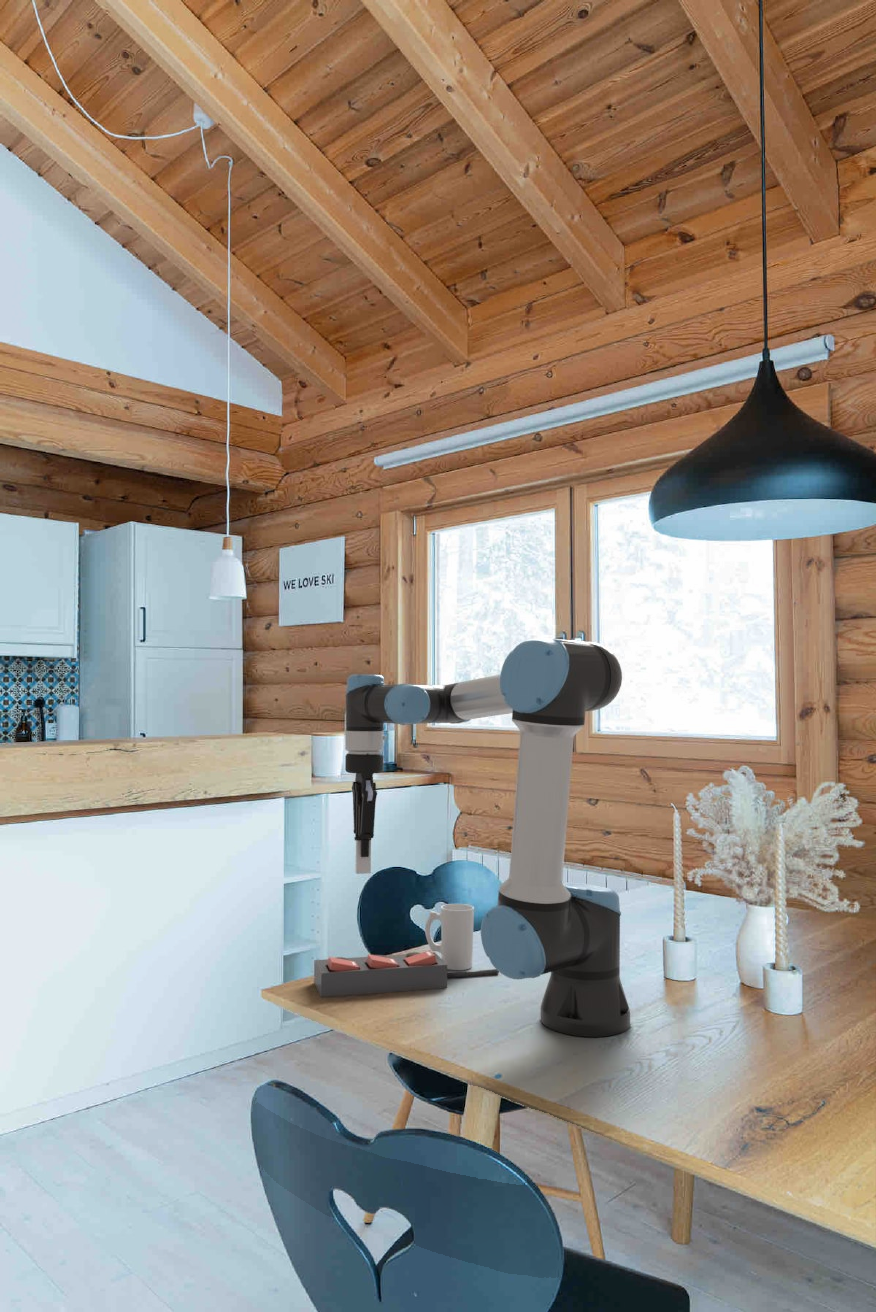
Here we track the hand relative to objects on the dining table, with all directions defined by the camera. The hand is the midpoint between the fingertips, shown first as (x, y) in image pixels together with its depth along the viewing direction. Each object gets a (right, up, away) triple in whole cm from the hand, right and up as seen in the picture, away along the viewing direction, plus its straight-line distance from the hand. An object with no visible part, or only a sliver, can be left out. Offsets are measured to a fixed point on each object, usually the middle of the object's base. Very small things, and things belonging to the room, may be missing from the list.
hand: (363, 872), depth 187 cm
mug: (+17, -21, +8) cm, 28 cm away
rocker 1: (-3, -15, -9) cm, 18 cm away
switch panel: (+10, -20, -4) cm, 23 cm away
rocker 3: (+11, -16, -5) cm, 20 cm away
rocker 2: (+4, -16, -7) cm, 17 cm away
